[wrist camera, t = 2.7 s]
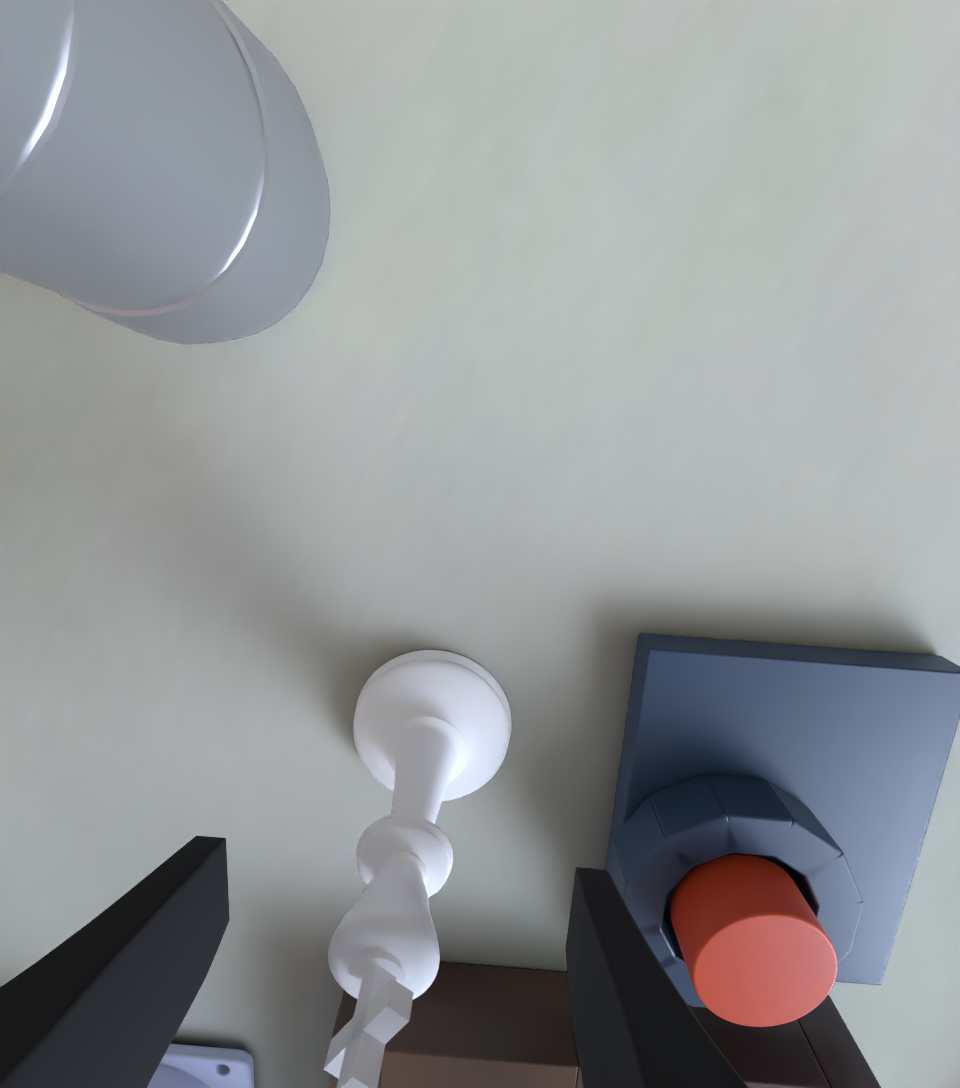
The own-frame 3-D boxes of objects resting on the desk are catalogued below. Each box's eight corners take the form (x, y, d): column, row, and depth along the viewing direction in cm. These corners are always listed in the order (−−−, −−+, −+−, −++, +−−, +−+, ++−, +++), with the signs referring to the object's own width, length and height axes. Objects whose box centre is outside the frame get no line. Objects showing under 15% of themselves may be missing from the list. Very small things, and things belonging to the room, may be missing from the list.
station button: (661, 952, 17) (682, 1022, 15) (679, 847, 16) (704, 907, 14) (785, 962, 16) (822, 1034, 15) (810, 857, 16) (853, 919, 14)
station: (588, 929, 20) (604, 1020, 17) (629, 631, 17) (657, 677, 14) (858, 951, 19) (921, 1047, 17) (941, 655, 17) (1033, 706, 14)
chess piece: (325, 730, 18) (124, 1103, 8) (418, 617, 17) (314, 892, 7) (446, 816, 19) (390, 1257, 9) (544, 712, 18) (599, 1081, 8)
